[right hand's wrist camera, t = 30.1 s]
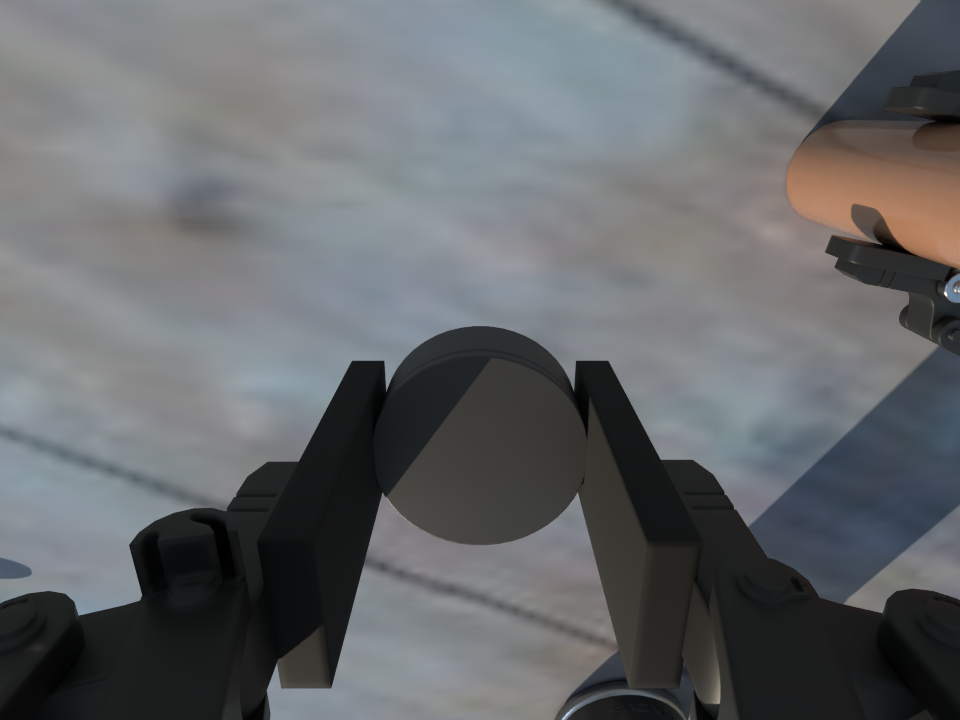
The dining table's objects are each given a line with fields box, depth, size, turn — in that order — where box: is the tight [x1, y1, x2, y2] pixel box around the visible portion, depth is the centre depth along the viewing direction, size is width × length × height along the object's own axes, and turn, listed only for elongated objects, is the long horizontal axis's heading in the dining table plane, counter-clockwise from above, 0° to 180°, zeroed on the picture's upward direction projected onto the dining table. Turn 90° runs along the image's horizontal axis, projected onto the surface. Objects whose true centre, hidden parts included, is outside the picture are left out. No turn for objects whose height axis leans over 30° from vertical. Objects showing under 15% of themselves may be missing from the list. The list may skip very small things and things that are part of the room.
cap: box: [373, 326, 587, 545], centre depth 14 cm, size 5×5×2 cm
